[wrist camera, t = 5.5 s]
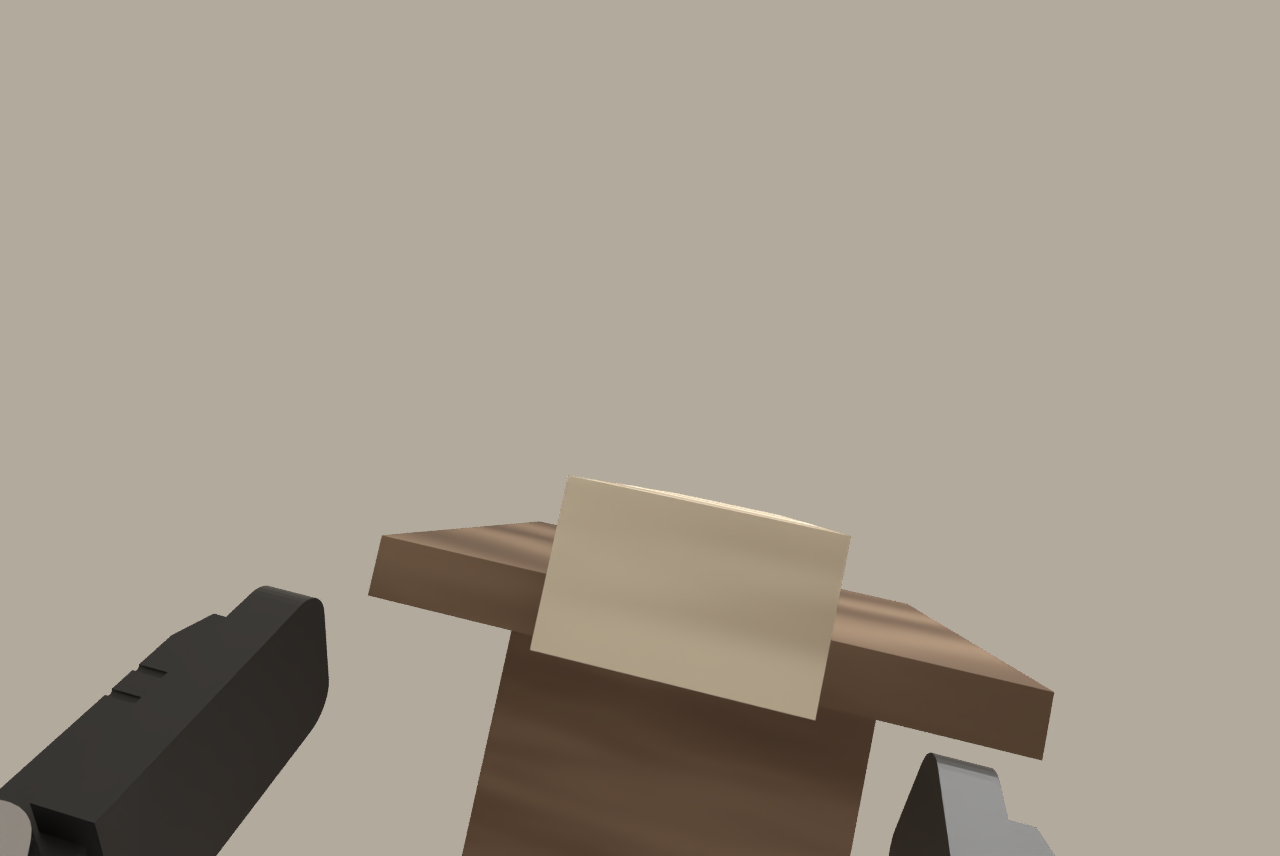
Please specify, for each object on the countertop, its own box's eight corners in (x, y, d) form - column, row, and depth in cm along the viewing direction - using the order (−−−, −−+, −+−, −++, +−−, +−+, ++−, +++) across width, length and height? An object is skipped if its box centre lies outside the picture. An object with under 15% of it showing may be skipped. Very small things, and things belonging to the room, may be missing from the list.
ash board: (663, 557, 31) (676, 493, 31) (766, 580, 31) (779, 515, 31) (530, 649, 11) (567, 475, 12) (815, 720, 11) (851, 535, 11)
